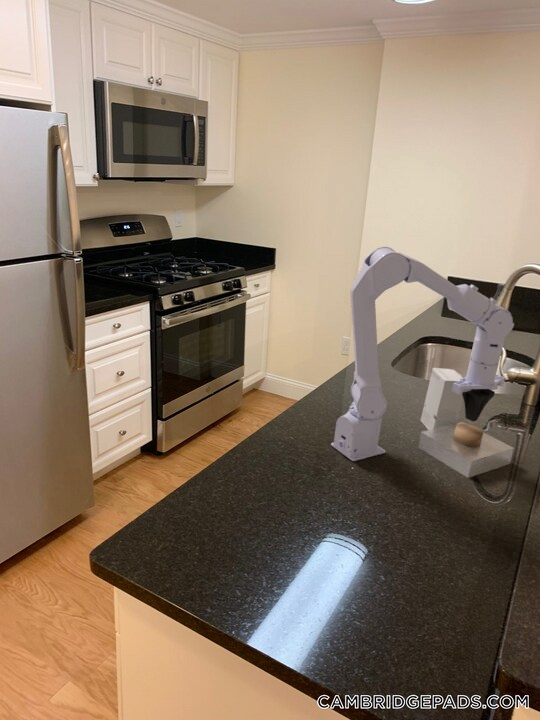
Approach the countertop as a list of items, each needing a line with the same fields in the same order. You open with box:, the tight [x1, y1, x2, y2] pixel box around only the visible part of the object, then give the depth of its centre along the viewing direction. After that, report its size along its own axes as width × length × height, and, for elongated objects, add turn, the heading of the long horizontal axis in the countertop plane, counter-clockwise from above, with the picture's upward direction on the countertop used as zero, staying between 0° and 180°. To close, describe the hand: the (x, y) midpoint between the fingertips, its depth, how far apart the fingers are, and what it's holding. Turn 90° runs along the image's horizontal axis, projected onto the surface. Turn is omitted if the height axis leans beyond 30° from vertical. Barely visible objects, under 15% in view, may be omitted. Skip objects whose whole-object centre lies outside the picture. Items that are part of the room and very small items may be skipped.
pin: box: [454, 423, 484, 446], centre depth 118 cm, size 6×6×6 cm
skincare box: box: [420, 367, 464, 430], centre depth 129 cm, size 8×6×15 cm
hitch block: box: [417, 421, 515, 479], centre depth 119 cm, size 14×14×4 cm
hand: (471, 419), depth 116 cm, fingers closed
